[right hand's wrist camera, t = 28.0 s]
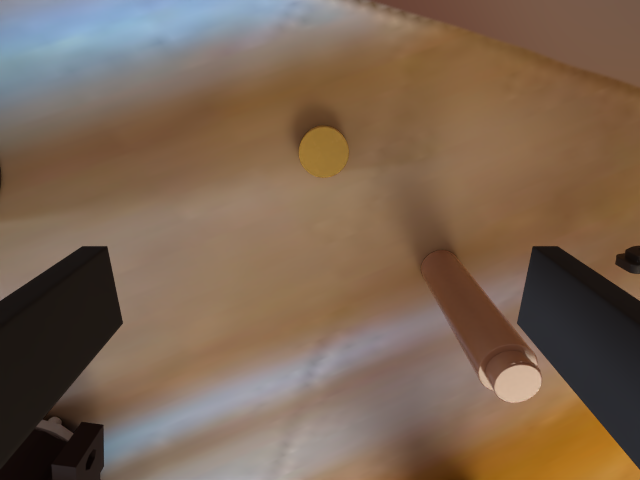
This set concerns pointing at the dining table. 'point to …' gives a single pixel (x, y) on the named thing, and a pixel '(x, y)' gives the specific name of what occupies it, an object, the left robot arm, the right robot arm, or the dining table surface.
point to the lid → (323, 151)
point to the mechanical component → (58, 453)
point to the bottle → (482, 330)
